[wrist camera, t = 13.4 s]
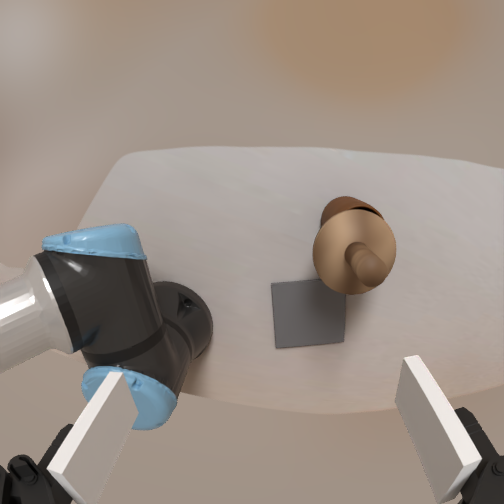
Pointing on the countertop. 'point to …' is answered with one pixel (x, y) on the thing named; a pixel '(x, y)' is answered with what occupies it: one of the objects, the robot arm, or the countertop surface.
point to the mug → (345, 207)
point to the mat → (307, 313)
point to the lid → (354, 251)
